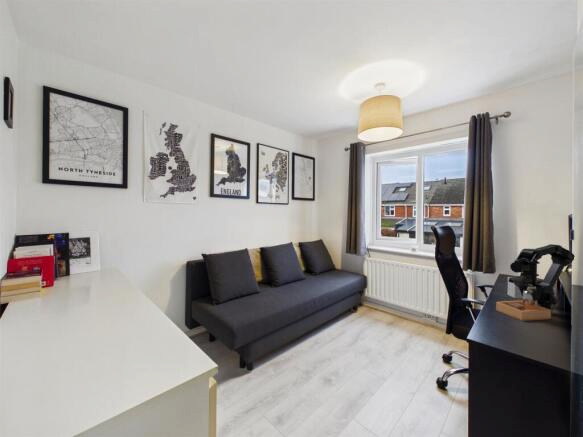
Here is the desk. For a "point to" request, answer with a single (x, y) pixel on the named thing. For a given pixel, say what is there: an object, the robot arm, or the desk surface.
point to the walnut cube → (517, 306)
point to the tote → (529, 314)
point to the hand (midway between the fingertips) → (529, 299)
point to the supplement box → (513, 290)
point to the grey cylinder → (528, 297)
